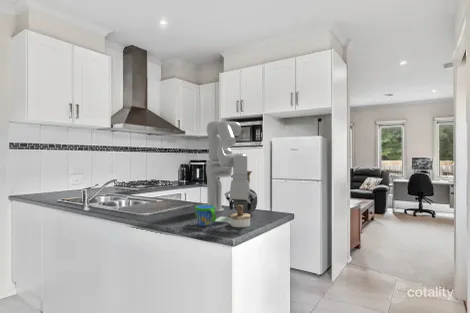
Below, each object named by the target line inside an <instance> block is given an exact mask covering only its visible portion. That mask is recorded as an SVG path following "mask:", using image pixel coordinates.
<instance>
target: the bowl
mask: <svg viewBox="0 0 470 313" xmlns="http://www.w3.org/2000/svg"><path fill="white" fill-rule="evenodd" d="M229 224H230V226H231V227H233V228H247V227H250V225H251V217H250V218H249V219H245V220H236V219H231V218H230V223H229Z"/></svg>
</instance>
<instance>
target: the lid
mask: <svg viewBox="0 0 470 313" xmlns="http://www.w3.org/2000/svg"><path fill="white" fill-rule="evenodd" d="M250 214H251V213H250ZM250 214H247V213H243V205H237V211H236V212H235V213H230V214H229V217H230V218H231V219H236V220H245V219H249V218H250V219H251V216H250Z"/></svg>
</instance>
